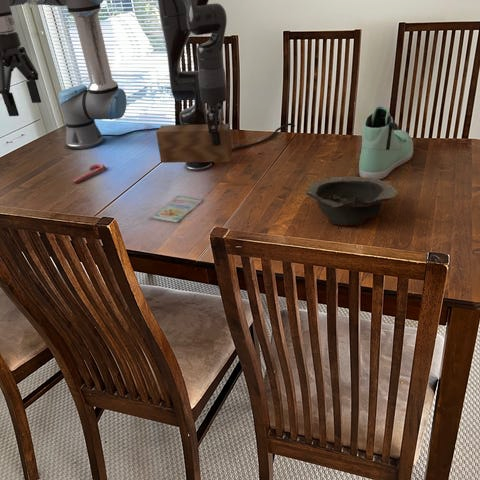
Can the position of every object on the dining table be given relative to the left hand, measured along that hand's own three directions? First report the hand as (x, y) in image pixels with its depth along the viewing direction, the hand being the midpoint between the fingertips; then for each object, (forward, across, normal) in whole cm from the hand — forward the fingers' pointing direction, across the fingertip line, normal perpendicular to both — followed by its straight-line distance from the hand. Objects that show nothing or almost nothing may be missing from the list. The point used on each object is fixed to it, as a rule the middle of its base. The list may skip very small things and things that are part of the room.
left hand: (25, 109), depth 144 cm
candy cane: (+30, +18, -5) cm, 35 cm away
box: (+17, 0, -51) cm, 53 cm away
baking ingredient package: (+30, -9, -45) cm, 55 cm away
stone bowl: (+30, -10, -96) cm, 101 cm away
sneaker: (+30, +26, -111) cm, 118 cm away
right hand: (+12, 0, -58) cm, 59 cm away
